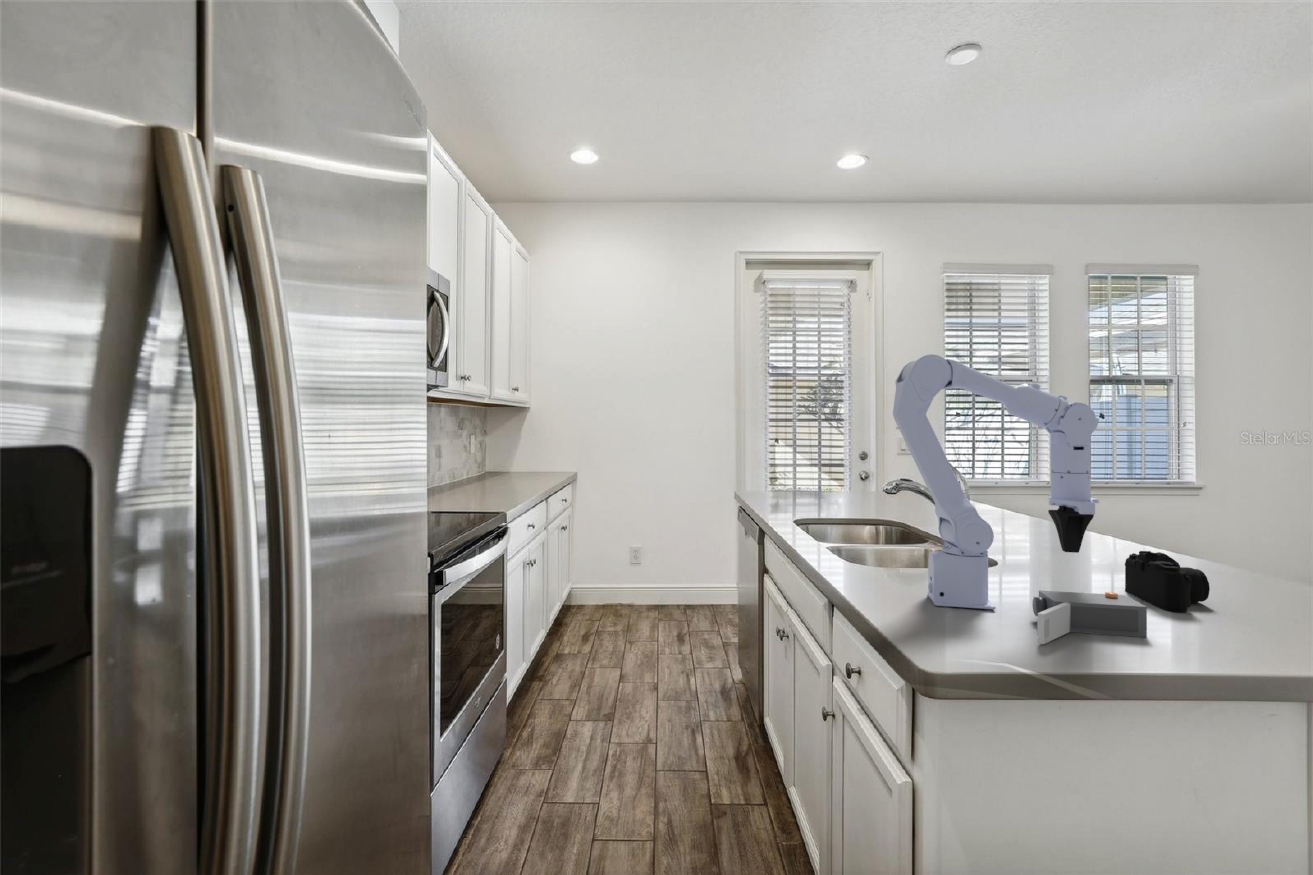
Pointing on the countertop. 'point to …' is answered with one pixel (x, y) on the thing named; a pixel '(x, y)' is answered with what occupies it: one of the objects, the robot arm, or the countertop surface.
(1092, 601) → the grey box
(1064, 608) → the side door
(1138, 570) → the film camera
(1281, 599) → the countertop surface
